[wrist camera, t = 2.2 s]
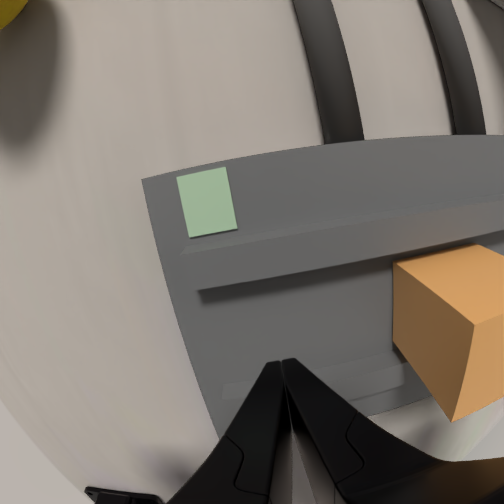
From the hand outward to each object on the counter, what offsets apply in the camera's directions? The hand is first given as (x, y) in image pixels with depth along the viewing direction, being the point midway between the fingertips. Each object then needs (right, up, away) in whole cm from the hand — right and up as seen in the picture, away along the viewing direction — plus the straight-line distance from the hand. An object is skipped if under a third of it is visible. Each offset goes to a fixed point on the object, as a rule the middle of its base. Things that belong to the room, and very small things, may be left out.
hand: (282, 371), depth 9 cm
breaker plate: (+6, +2, +4) cm, 8 cm away
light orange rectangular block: (+6, +2, +2) cm, 7 cm away
